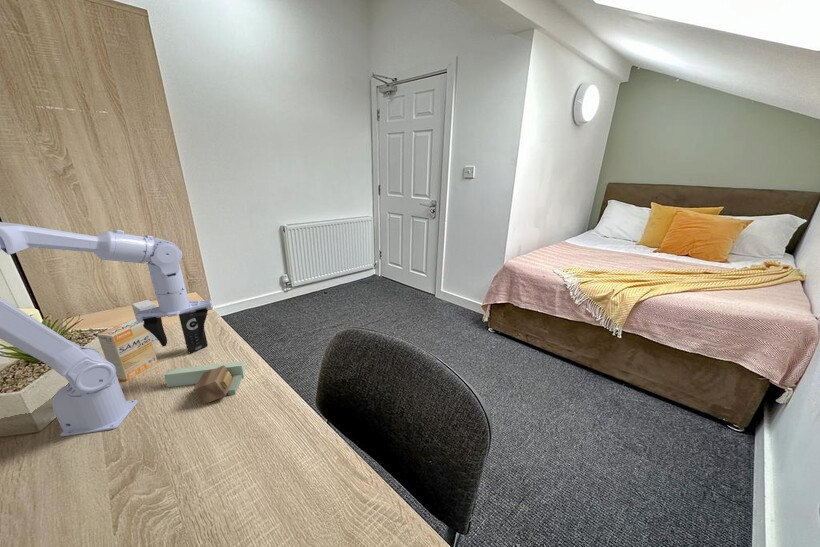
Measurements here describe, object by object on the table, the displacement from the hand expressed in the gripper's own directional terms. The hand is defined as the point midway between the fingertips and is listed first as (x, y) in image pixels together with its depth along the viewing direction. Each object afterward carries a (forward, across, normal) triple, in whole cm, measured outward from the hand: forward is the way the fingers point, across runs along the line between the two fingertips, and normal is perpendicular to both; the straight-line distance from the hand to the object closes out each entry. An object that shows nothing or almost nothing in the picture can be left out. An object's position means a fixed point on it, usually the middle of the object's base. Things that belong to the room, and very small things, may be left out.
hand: (184, 340), depth 76 cm
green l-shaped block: (+10, +4, -4) cm, 12 cm away
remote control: (+11, 0, +12) cm, 16 cm away
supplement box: (+11, -13, +9) cm, 19 cm away
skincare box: (+11, -13, +26) cm, 31 cm away
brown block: (+8, +3, -10) cm, 13 cm away
